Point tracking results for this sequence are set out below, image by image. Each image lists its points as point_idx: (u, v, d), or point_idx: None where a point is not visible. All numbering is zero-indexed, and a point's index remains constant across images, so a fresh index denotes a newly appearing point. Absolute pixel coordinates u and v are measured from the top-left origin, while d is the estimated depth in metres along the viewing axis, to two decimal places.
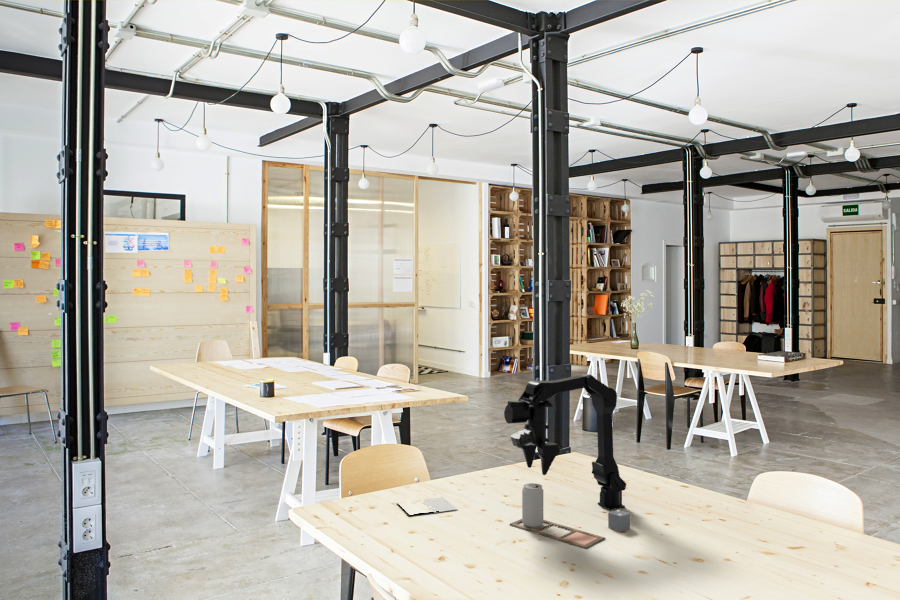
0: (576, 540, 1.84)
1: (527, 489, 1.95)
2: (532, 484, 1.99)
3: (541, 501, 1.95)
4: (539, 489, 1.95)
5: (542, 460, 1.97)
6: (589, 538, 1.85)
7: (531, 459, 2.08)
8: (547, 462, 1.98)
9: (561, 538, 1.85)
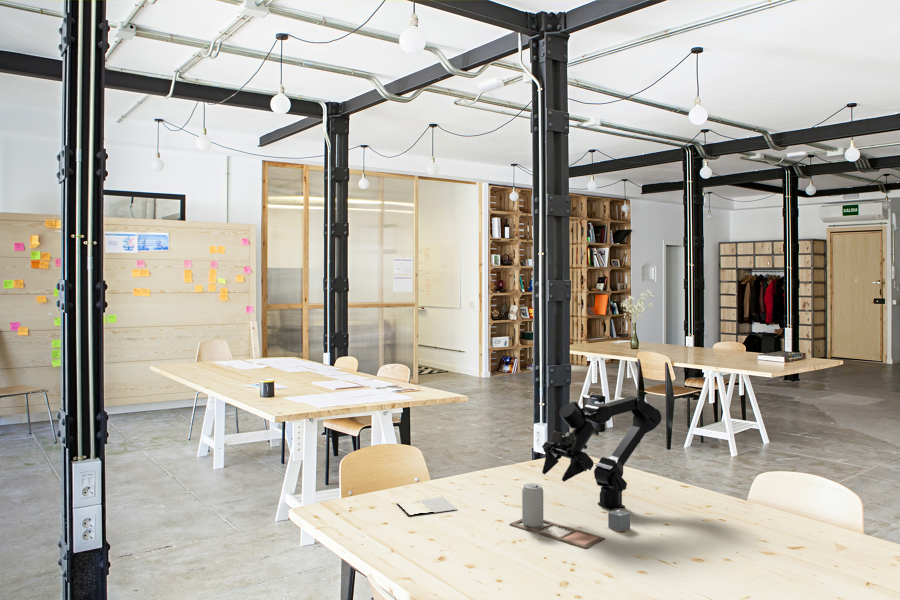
0: (576, 540, 1.84)
1: (527, 489, 1.95)
2: (532, 484, 1.99)
3: (541, 501, 1.95)
4: (539, 489, 1.95)
5: (571, 465, 1.97)
6: (589, 538, 1.85)
7: (549, 468, 2.06)
8: (573, 471, 1.98)
9: (561, 538, 1.85)
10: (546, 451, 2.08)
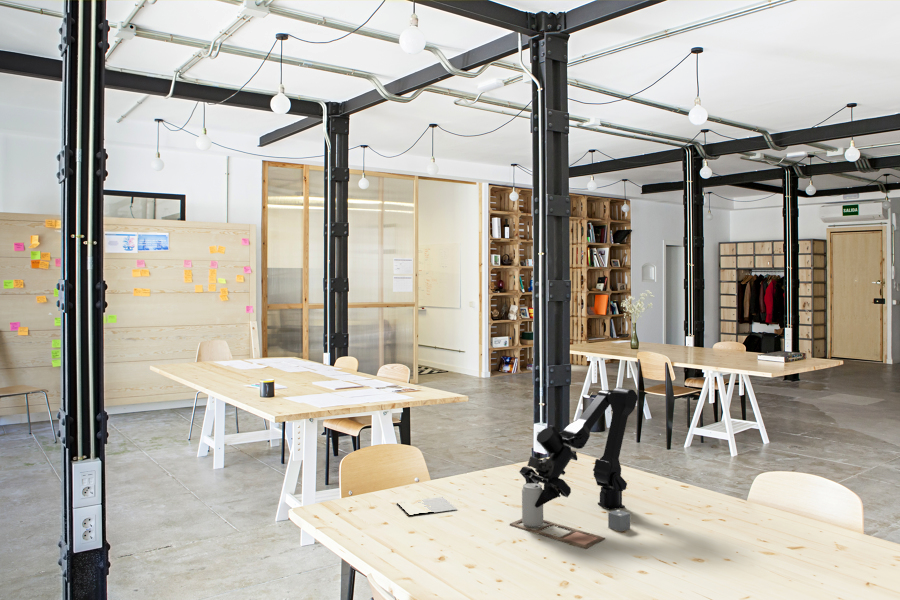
0: (576, 540, 1.84)
1: (527, 489, 1.95)
2: (532, 484, 1.99)
3: None
4: (539, 489, 1.95)
5: (544, 491, 1.94)
6: (589, 538, 1.85)
7: None
8: (546, 497, 1.94)
9: (561, 538, 1.85)
10: (526, 478, 2.01)
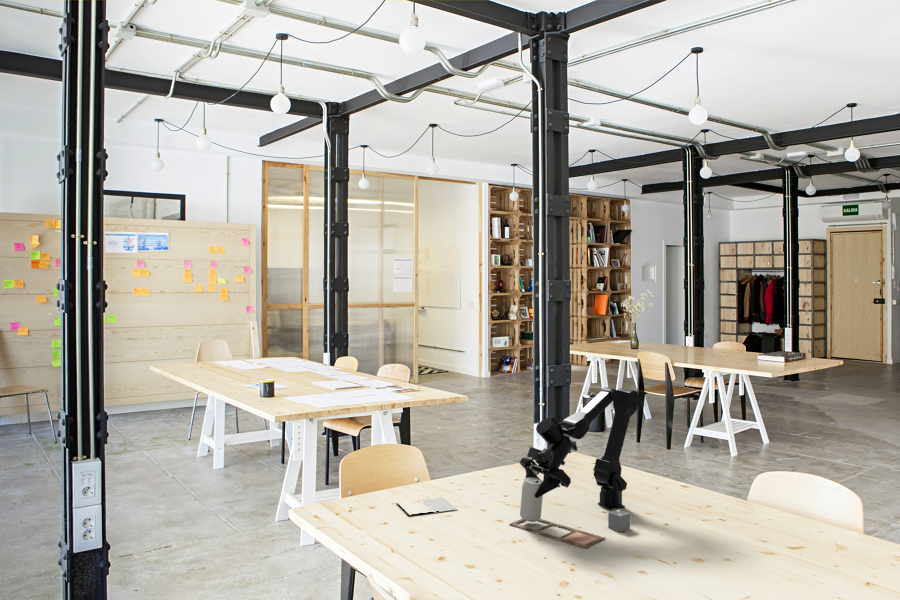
0: (576, 540, 1.84)
1: (527, 484, 1.95)
2: (533, 478, 1.99)
3: (540, 496, 1.95)
4: (539, 485, 1.95)
5: (544, 482, 1.94)
6: (589, 538, 1.85)
7: None
8: (546, 487, 1.94)
9: (561, 538, 1.85)
10: (526, 468, 2.01)
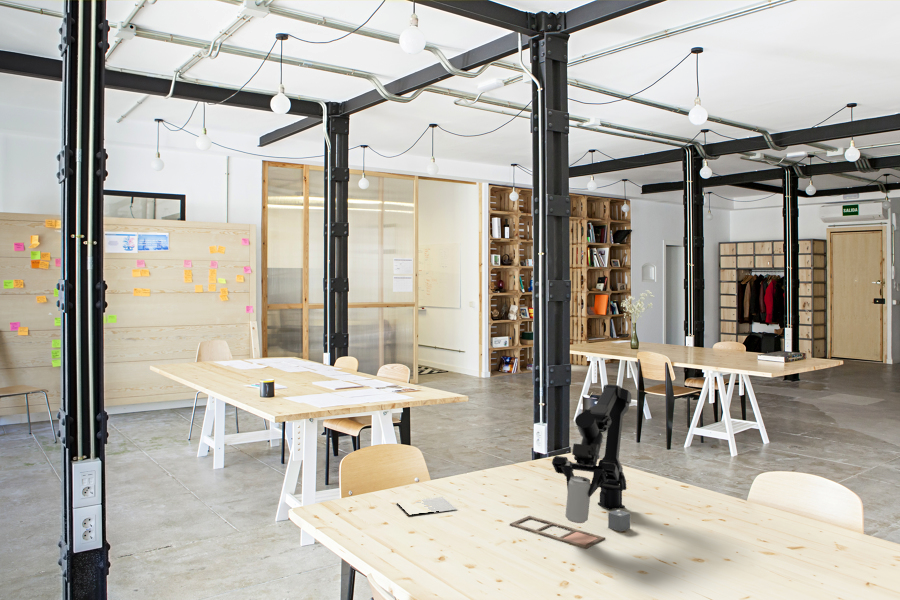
0: (576, 540, 1.84)
1: (579, 483, 1.83)
2: (577, 477, 1.87)
3: None
4: (589, 482, 1.85)
5: (596, 478, 1.84)
6: (589, 538, 1.85)
7: None
8: (596, 484, 1.85)
9: (561, 538, 1.85)
10: (566, 467, 1.89)
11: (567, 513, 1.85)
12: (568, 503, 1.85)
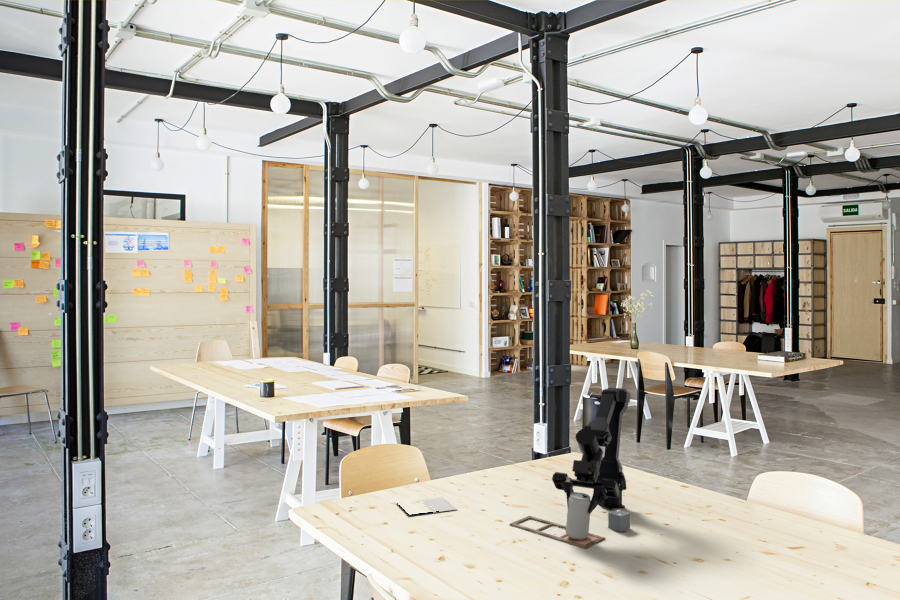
0: (576, 540, 1.84)
1: (579, 500, 1.83)
2: (577, 493, 1.87)
3: None
4: (589, 499, 1.84)
5: (596, 495, 1.84)
6: (589, 538, 1.85)
7: None
8: (596, 501, 1.85)
9: (561, 538, 1.85)
10: (566, 484, 1.89)
11: (567, 530, 1.85)
12: (568, 520, 1.85)
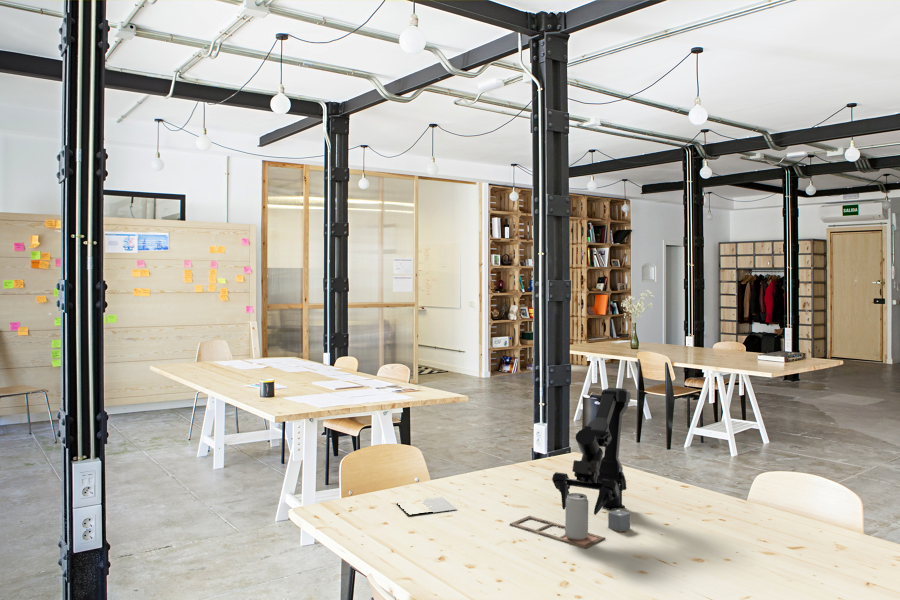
0: (576, 540, 1.84)
1: (576, 500, 1.83)
2: (573, 494, 1.87)
3: None
4: (586, 498, 1.85)
5: (601, 496, 1.83)
6: (589, 538, 1.85)
7: None
8: (602, 502, 1.84)
9: (561, 538, 1.85)
10: (561, 483, 1.89)
11: (567, 531, 1.85)
12: (567, 521, 1.85)
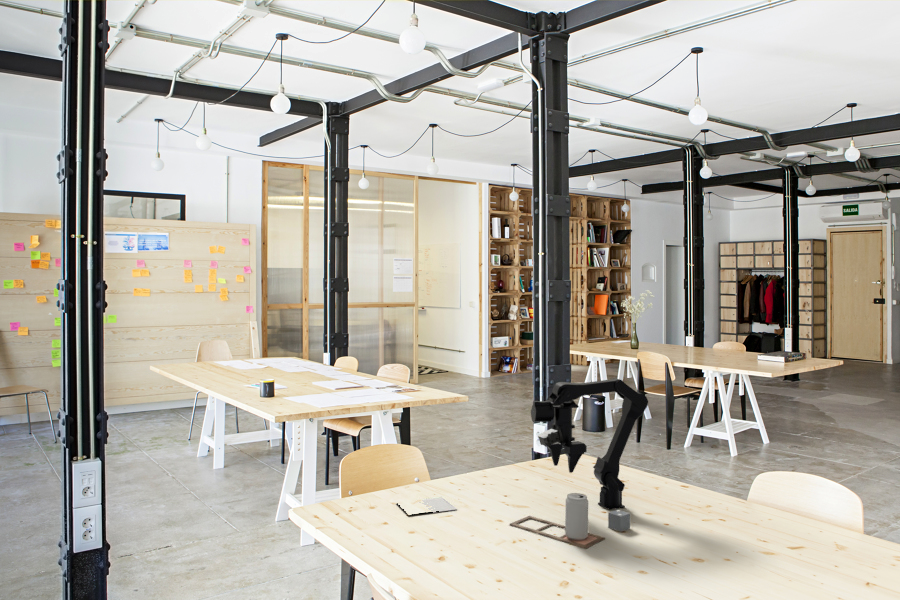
0: (576, 540, 1.84)
1: (576, 500, 1.83)
2: (573, 494, 1.87)
3: None
4: (586, 498, 1.85)
5: (569, 458, 2.06)
6: (589, 538, 1.85)
7: (557, 457, 2.16)
8: (574, 460, 2.07)
9: (561, 538, 1.85)
10: None
11: (567, 531, 1.85)
12: (567, 521, 1.85)
